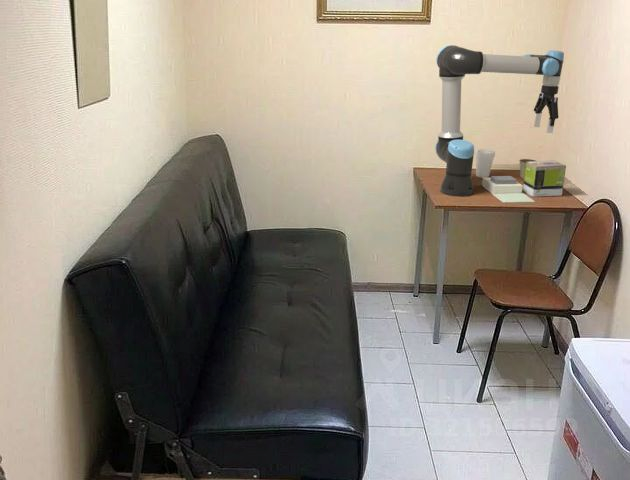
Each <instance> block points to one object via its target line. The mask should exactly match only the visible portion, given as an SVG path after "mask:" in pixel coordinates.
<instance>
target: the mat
mask: <svg viewBox="0 0 630 480" xmlns="http://www.w3.org/2000/svg"><path fill="white" fill-rule="evenodd" d="M492 195H493V196H494V197H495V198H497V200H499V201H500V202H501V203H503V204H511V203H512V204H514V203H515V204H516V203H518V204H519V203H525V204H526V203H536V201H535V200H533V198H532V197H530V196H528V194H525V192H524V193H523V192H522V193H509V194H492Z"/></svg>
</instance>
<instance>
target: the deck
mask: <svg viewBox="0 0 630 480" xmlns="http://www.w3.org/2000/svg"><path fill="white" fill-rule="evenodd" d="M490 179H491V177H487V178H482V183H481V186H482V187H483V189H485V190H487V191H488V192H489V193H490V194H492V195H493V194H509V193H523V185H524V184H521V183H519V182H518V181H517V184H495V183H494V182H492V181H491V180H490Z"/></svg>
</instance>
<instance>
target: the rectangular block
mask: <svg viewBox="0 0 630 480" xmlns="http://www.w3.org/2000/svg"><path fill="white" fill-rule="evenodd" d="M490 178H491V179H490V180H491V181H492V182H494V183H495V184H517V182H518V179H516V178H514V177H513V176H511V175H491V176H490Z"/></svg>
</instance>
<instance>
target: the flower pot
mask: <svg viewBox="0 0 630 480" xmlns="http://www.w3.org/2000/svg"><path fill="white" fill-rule="evenodd" d="M530 161H537V160H535V159H531V158H520V159H519V177H520V178H522V179H523V180H524V178H525V170H526V163H527V162H530Z"/></svg>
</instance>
